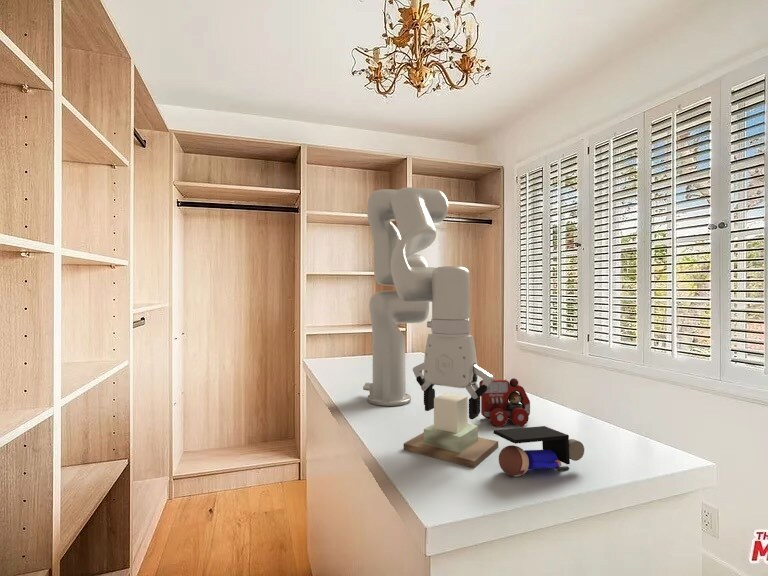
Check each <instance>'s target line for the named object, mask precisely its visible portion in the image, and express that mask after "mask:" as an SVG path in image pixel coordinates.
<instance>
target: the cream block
mask: <svg viewBox="0 0 768 576" xmlns="http://www.w3.org/2000/svg"><path fill="white" fill-rule="evenodd" d="M468 419H469V398H468V396H467V395H459V394H454V393H448V392H447V393H446V392H444V393H442V394H440V395H438V396H435V398H434V408H433V424H434V429H439V430H444V431H449V432H454V433H458V432H460V431H461V430H463V429H464V428H466V427H467V426H468V424H469V422H468Z"/></svg>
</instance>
